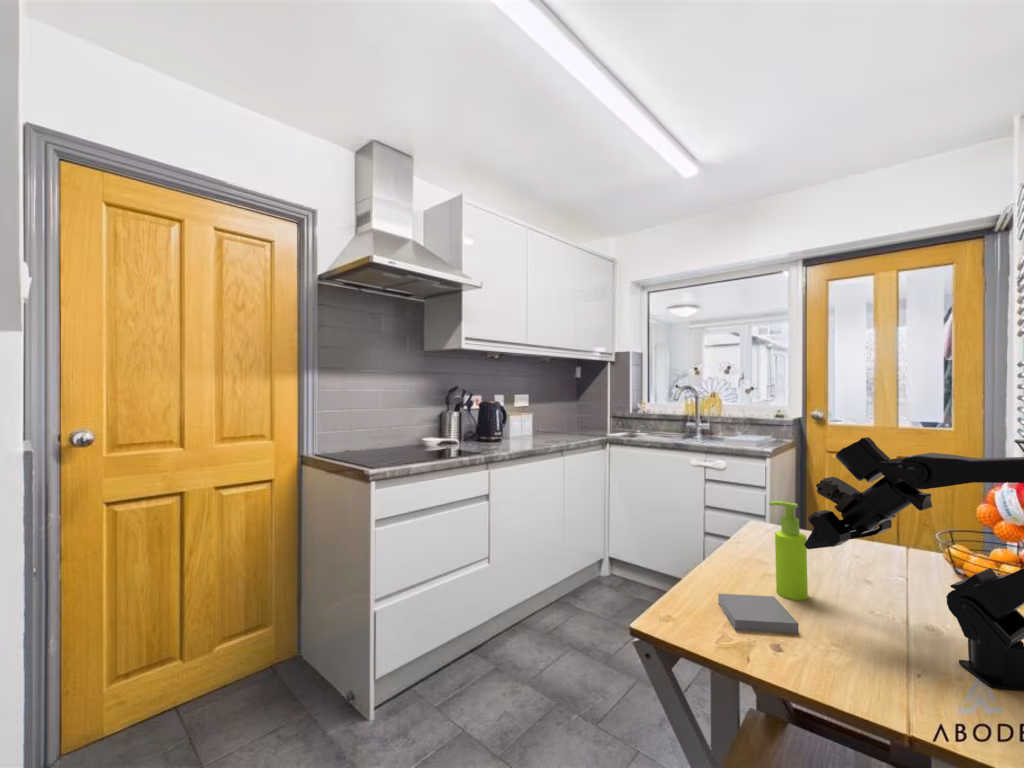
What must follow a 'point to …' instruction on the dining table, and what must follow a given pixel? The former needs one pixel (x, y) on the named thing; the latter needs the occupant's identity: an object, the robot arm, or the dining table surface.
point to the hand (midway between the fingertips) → (819, 543)
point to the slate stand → (757, 614)
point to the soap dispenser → (790, 556)
